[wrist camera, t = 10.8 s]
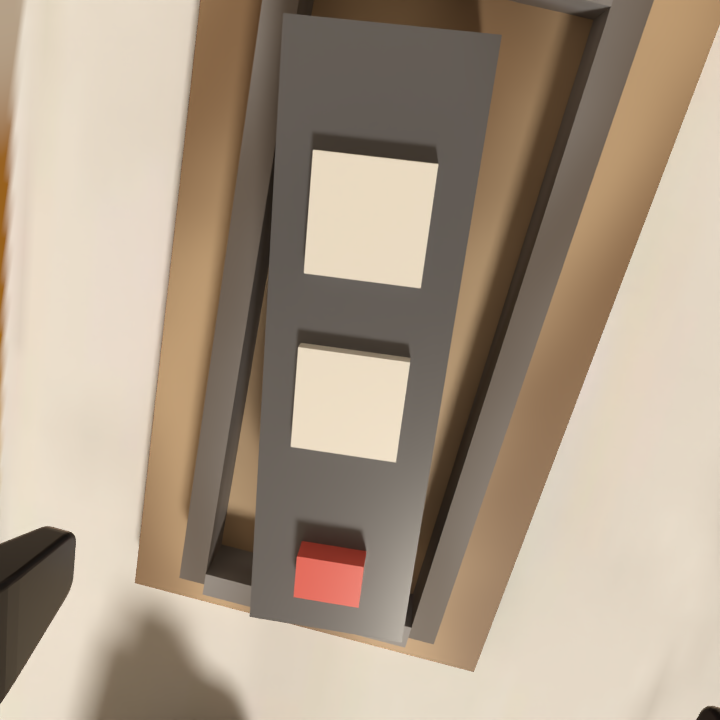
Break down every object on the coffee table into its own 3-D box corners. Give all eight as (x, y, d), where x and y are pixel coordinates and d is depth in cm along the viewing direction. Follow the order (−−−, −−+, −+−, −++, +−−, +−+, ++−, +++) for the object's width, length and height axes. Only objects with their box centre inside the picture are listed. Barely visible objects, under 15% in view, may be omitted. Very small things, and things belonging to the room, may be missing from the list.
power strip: (484, 62, 15) (505, 29, 10) (407, 546, 20) (400, 660, 15) (320, 45, 15) (275, 6, 11) (284, 527, 20) (243, 633, 16)
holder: (737, -66, 14) (798, -107, 12) (472, 649, 22) (476, 710, 20) (236, -177, 15) (198, -238, 12) (147, 564, 22) (114, 613, 20)
